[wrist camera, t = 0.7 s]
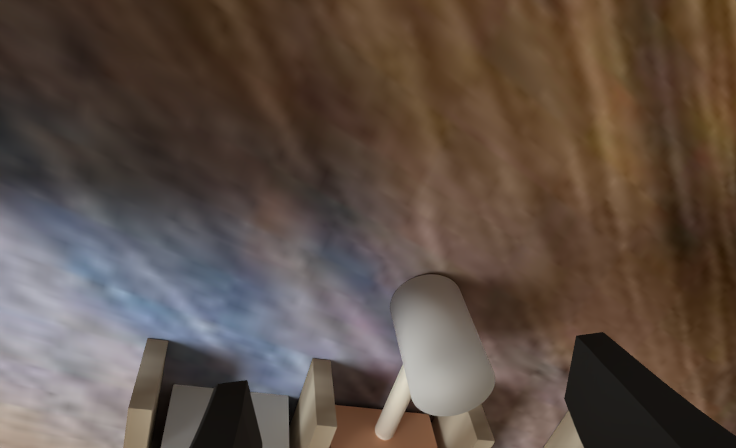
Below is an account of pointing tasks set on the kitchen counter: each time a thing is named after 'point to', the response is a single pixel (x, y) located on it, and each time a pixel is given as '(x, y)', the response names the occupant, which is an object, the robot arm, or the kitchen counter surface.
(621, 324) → the kitchen counter surface
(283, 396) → the grey block
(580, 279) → the kitchen counter surface
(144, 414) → the lane rack
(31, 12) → the kitchen counter surface
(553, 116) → the kitchen counter surface
